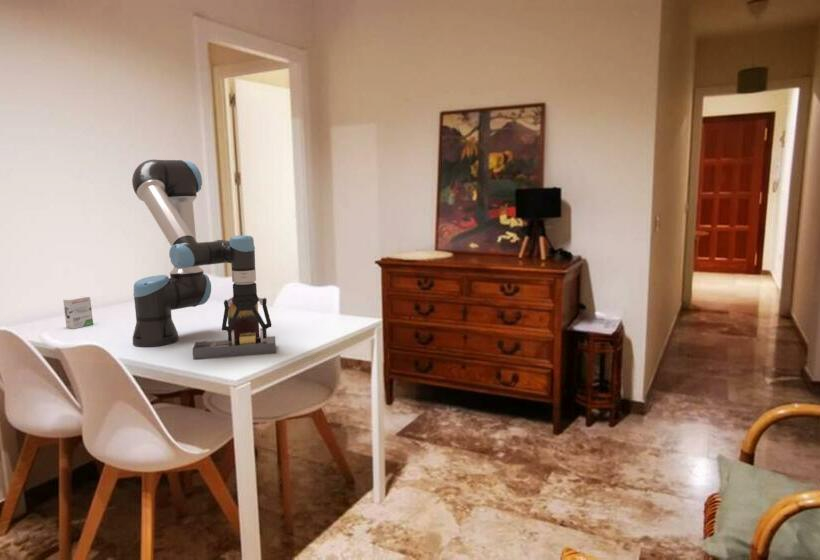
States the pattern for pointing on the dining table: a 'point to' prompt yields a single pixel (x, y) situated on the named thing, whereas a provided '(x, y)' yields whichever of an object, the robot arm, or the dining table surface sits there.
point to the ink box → (78, 312)
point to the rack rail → (233, 348)
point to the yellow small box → (247, 338)
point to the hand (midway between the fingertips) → (248, 348)
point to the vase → (243, 321)
